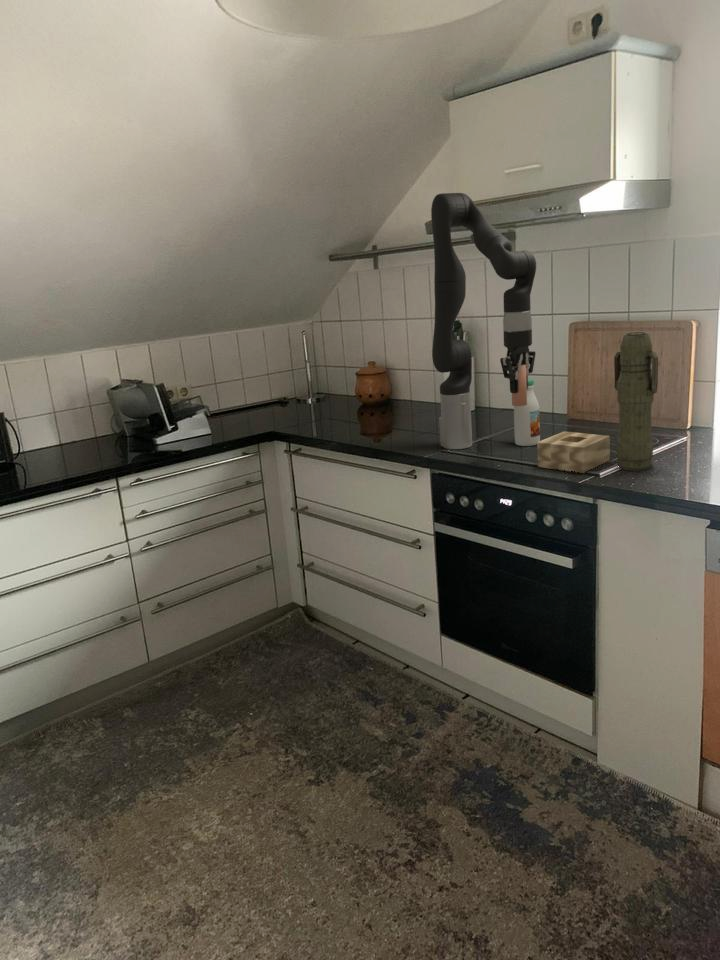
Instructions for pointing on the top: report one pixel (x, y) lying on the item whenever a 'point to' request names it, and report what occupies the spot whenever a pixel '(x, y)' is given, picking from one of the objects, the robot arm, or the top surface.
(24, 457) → the top surface
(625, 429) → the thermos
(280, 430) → the top surface
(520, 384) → the dowel pin
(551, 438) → the bore block
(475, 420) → the top surface
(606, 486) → the top surface
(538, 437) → the milk bottle
